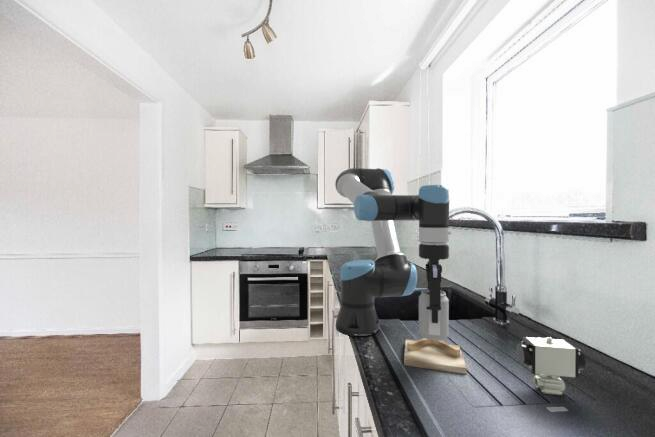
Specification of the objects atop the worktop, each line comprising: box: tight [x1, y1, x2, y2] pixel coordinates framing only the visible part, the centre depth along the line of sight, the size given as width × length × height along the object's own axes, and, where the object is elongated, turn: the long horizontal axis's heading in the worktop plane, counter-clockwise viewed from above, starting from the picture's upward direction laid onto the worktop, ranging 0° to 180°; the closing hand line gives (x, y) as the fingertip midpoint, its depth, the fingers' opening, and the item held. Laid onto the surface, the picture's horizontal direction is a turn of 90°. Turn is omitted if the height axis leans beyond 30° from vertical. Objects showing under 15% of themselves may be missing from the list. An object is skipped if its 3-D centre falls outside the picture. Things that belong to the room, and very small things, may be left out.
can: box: [418, 288, 450, 341], centre depth 78 cm, size 8×8×12 cm
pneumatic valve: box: [515, 336, 587, 396], centre depth 66 cm, size 6×12×12 cm, turn 78°
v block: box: [403, 337, 468, 375], centre depth 80 cm, size 13×15×4 cm
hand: (433, 328), depth 78 cm, fingers closed on can, 7 cm apart
